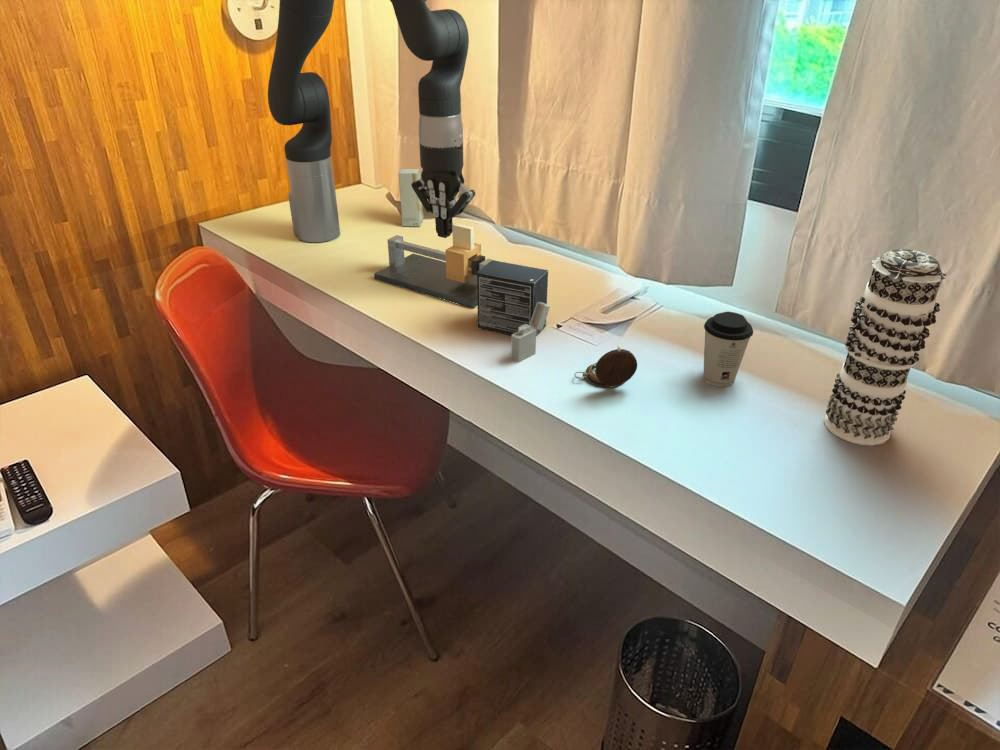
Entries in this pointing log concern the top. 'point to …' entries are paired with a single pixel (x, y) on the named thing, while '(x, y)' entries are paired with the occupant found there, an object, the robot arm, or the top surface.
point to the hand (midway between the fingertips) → (444, 236)
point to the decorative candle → (884, 345)
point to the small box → (509, 296)
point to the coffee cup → (725, 347)
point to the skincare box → (410, 198)
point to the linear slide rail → (428, 273)
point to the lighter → (528, 334)
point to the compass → (612, 368)
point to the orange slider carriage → (461, 253)
